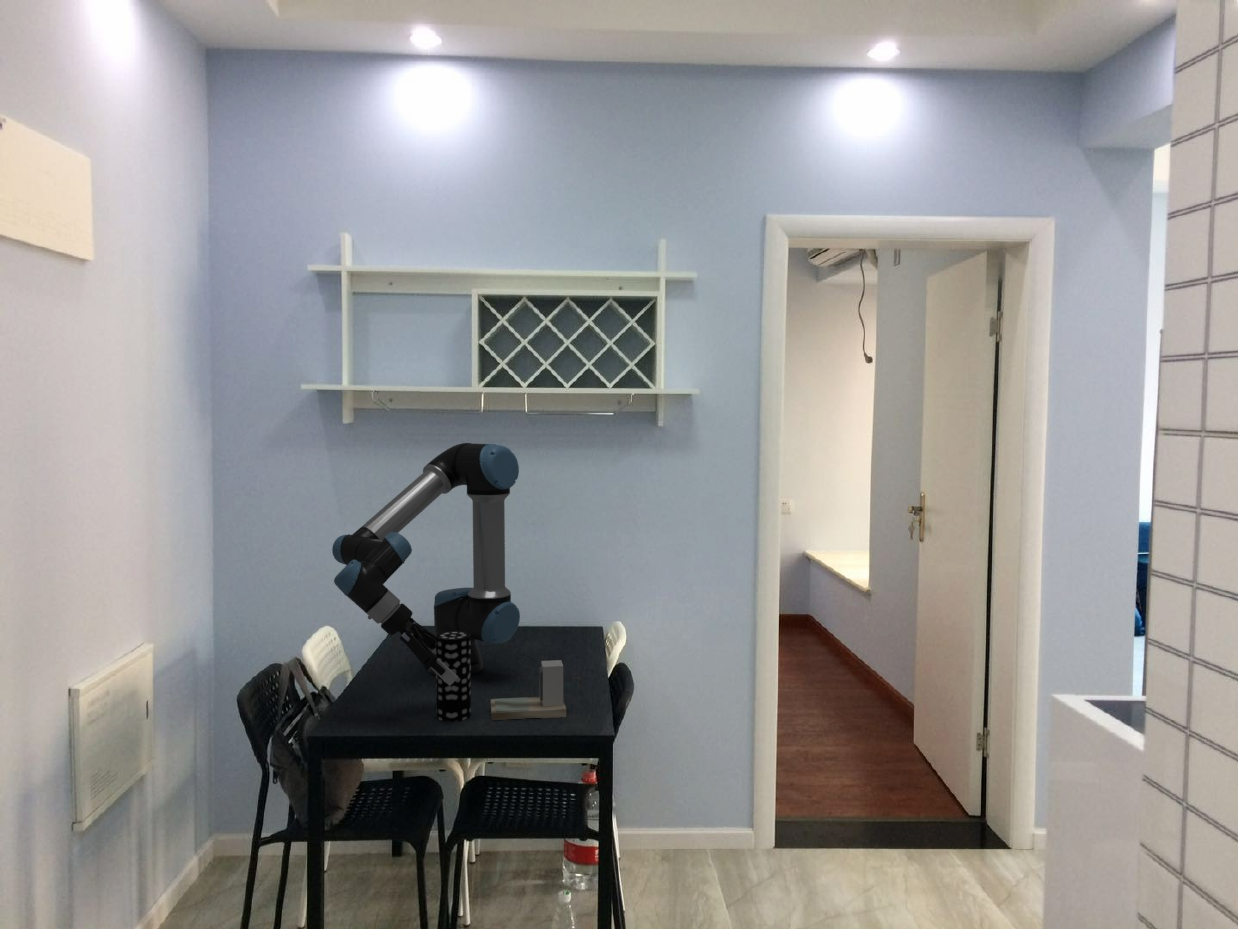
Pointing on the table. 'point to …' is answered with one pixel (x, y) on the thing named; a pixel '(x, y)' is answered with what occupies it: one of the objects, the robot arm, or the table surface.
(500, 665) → the table surface
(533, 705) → the beige rectangular board
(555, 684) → the block
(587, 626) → the table surface
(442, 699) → the white-spotted black cylinder
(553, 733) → the table surface
